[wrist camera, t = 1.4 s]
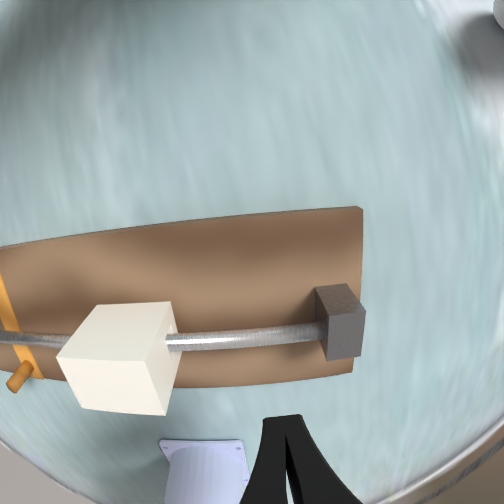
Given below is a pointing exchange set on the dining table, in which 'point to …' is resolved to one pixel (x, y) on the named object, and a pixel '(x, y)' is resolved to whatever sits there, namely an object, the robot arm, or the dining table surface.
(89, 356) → the sleeve
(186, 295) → the walnut board
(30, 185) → the dining table surface
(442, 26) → the dining table surface
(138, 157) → the dining table surface
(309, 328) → the metal rod
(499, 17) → the donut
